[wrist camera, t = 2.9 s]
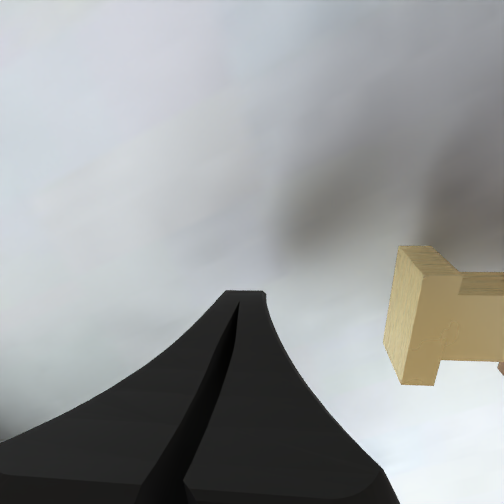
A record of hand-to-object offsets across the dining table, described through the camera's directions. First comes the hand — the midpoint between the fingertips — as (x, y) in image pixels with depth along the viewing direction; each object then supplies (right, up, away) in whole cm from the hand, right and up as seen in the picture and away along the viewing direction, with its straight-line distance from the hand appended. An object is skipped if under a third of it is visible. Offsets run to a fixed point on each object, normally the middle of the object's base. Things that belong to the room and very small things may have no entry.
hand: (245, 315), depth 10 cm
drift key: (+8, 0, 0) cm, 8 cm away
